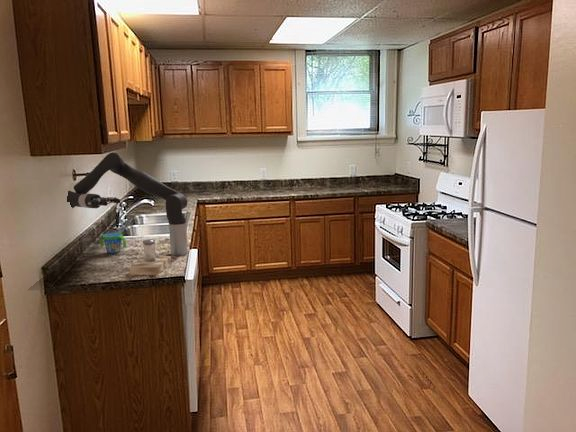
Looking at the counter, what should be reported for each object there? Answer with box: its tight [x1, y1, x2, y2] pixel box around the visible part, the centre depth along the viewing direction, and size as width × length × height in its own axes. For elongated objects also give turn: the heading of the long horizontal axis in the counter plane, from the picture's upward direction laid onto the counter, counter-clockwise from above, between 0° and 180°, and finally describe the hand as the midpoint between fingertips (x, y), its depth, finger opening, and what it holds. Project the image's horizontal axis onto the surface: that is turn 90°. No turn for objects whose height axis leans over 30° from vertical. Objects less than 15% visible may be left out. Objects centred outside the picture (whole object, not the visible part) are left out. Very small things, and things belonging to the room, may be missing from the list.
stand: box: [129, 255, 172, 276], centre depth 226 cm, size 18×14×4 cm
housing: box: [142, 238, 157, 262], centre depth 225 cm, size 6×6×10 cm
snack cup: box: [100, 232, 127, 254], centre depth 260 cm, size 16×10×10 cm
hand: (113, 202), depth 233 cm, fingers open, 8 cm apart
